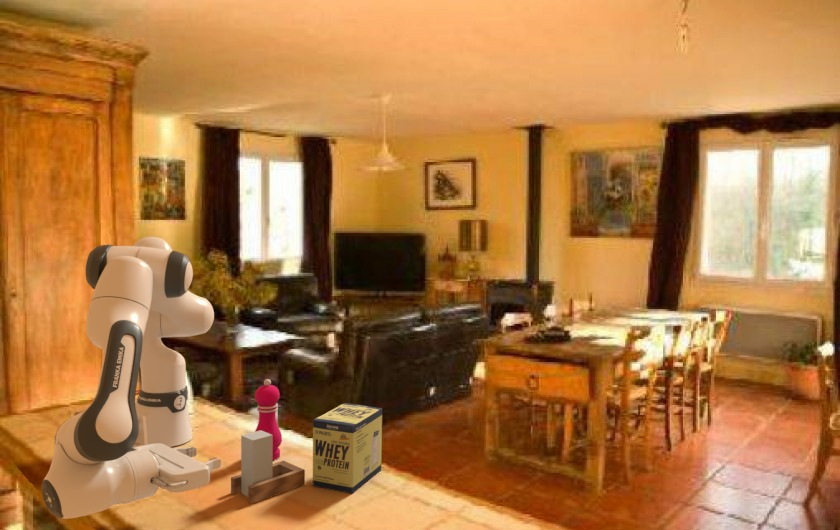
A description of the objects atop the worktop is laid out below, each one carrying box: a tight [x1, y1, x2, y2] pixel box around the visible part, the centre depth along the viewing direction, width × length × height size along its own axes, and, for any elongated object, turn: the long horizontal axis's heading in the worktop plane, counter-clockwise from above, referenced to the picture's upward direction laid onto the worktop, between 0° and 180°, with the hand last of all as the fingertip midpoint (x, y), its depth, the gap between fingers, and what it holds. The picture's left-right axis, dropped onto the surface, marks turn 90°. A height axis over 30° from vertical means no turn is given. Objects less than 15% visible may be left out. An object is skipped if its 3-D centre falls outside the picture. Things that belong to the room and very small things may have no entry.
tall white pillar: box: [240, 430, 274, 498], centre depth 145 cm, size 5×4×13 cm
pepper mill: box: [254, 378, 283, 461], centre depth 166 cm, size 7×7×20 cm
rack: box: [230, 460, 306, 505], centre depth 147 cm, size 14×8×4 cm, turn 138°
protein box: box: [312, 402, 383, 494], centre depth 154 cm, size 10×16×16 cm
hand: (206, 456), depth 135 cm, fingers open, 8 cm apart
